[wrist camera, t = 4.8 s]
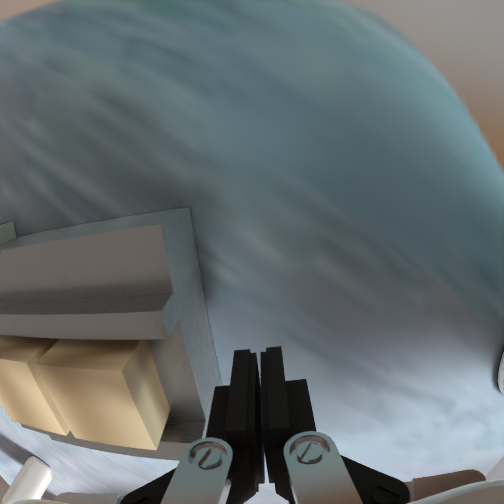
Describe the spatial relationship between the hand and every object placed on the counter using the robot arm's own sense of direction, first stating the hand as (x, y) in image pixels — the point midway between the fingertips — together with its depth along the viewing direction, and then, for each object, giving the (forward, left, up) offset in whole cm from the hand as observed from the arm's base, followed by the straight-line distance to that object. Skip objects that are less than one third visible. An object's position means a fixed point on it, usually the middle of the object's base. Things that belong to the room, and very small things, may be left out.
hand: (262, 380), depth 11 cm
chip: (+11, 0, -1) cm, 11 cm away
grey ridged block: (+8, 0, -5) cm, 10 cm away
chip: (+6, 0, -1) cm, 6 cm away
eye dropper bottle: (+27, +19, -5) cm, 33 cm away
